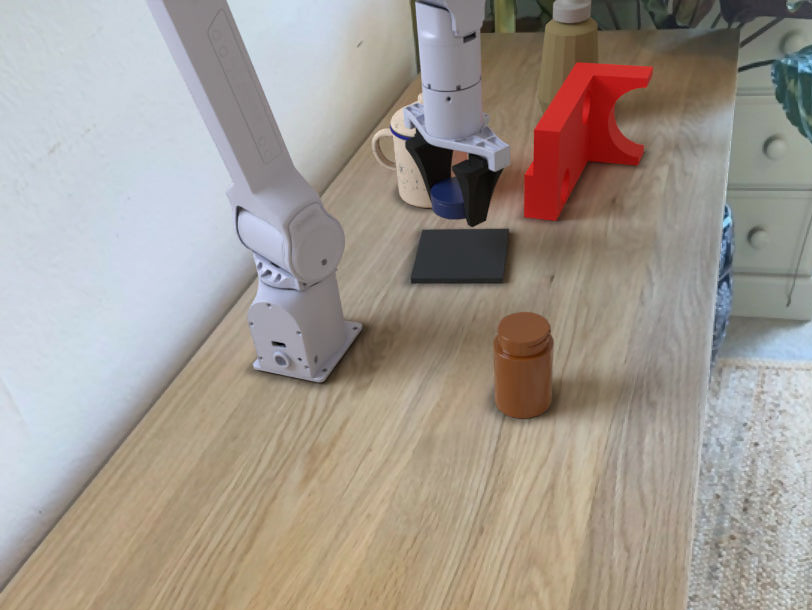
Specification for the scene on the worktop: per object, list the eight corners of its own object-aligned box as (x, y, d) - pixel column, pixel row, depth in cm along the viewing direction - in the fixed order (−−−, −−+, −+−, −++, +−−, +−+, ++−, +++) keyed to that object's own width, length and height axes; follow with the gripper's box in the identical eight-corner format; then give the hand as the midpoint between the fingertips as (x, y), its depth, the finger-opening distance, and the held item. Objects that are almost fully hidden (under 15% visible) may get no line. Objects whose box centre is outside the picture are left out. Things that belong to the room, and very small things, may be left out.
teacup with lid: (479, 176, 107) (476, 79, 98) (458, 213, 102) (452, 113, 93) (390, 169, 111) (379, 74, 102) (364, 204, 105) (351, 108, 96)
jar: (545, 422, 76) (548, 348, 70) (489, 414, 78) (486, 342, 72) (556, 384, 80) (559, 311, 74) (501, 378, 81) (500, 306, 75)
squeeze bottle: (525, 118, 117) (527, -33, 103) (576, 102, 119) (584, -48, 105) (556, 140, 112) (562, -16, 98) (609, 123, 113) (622, -32, 100)
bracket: (568, 61, 103) (653, 66, 100) (564, 146, 110) (643, 153, 107) (524, 129, 92) (618, 136, 89) (524, 217, 100) (610, 227, 97)
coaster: (502, 282, 91) (502, 278, 91) (410, 283, 93) (410, 278, 92) (508, 233, 98) (508, 228, 97) (422, 234, 99) (422, 229, 99)
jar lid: (481, 189, 93) (480, 172, 91) (491, 215, 89) (490, 198, 88) (428, 196, 93) (427, 180, 91) (435, 223, 89) (434, 206, 88)
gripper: (534, 86, 78) (532, 222, 89) (437, 47, 87) (445, 176, 97) (475, 112, 76) (480, 249, 86) (381, 69, 84) (396, 199, 94)
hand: (458, 212), depth 91 cm, fingers closed on jar lid, 5 cm apart
